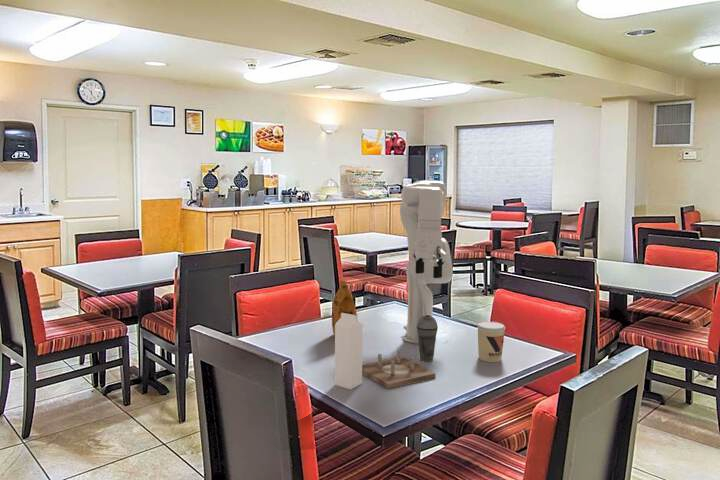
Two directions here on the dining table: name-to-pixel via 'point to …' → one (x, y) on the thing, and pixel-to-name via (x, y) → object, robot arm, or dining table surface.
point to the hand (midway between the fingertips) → (428, 275)
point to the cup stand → (396, 371)
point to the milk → (348, 351)
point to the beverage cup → (426, 336)
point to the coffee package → (342, 303)
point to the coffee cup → (490, 341)
